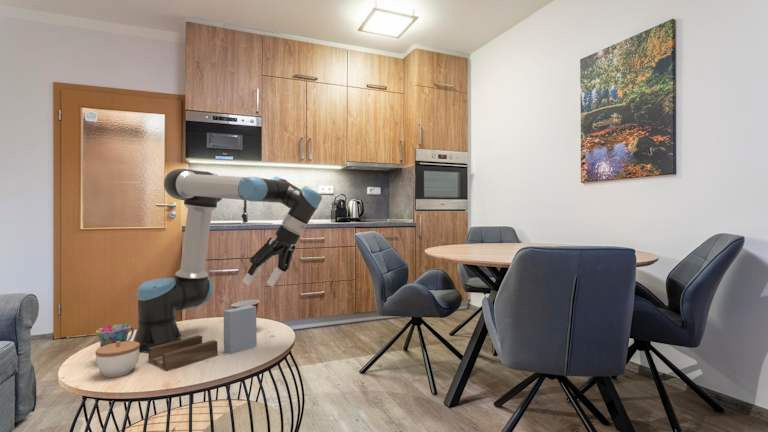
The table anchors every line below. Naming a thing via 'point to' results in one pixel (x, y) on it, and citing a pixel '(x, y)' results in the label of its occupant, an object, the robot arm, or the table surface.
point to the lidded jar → (117, 358)
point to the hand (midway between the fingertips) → (258, 284)
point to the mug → (114, 334)
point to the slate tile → (239, 329)
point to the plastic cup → (246, 304)
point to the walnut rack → (182, 352)
